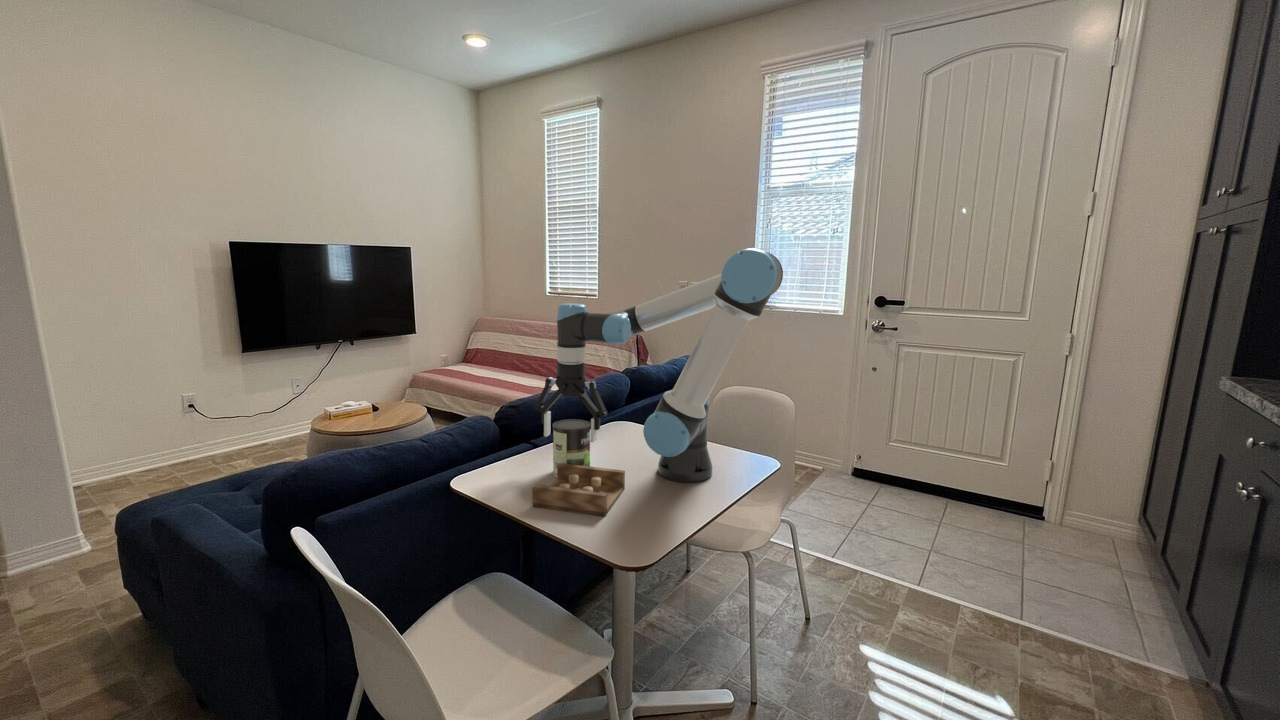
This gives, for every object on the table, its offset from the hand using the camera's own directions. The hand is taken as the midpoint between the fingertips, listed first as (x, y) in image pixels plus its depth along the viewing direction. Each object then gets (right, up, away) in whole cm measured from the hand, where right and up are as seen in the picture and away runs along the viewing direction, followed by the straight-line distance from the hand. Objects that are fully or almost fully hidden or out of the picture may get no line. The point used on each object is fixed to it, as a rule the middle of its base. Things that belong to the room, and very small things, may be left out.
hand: (570, 438), depth 142 cm
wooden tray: (+4, -13, -14) cm, 19 cm away
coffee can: (0, -10, +2) cm, 10 cm away
